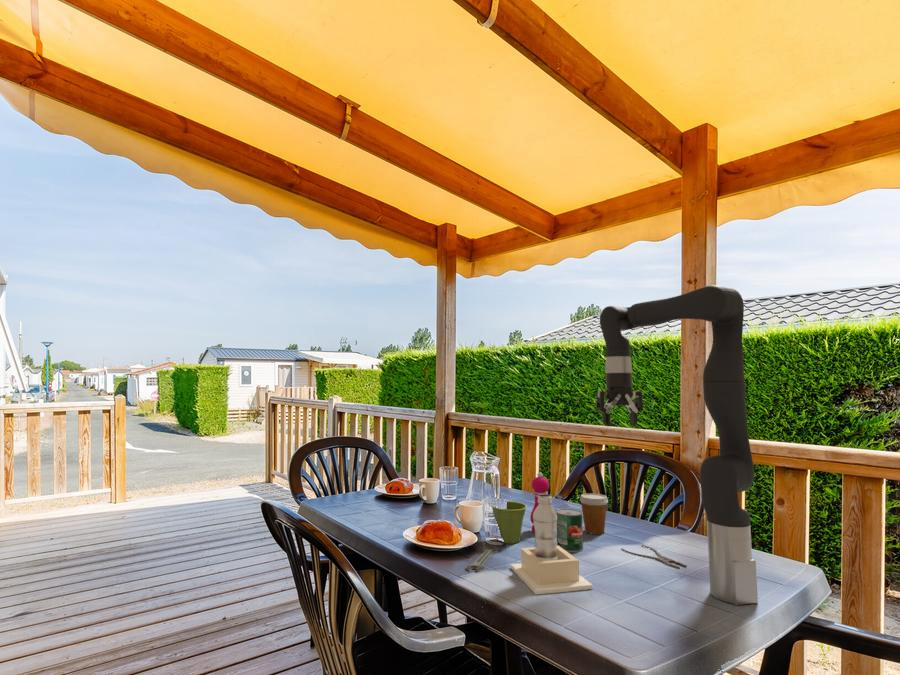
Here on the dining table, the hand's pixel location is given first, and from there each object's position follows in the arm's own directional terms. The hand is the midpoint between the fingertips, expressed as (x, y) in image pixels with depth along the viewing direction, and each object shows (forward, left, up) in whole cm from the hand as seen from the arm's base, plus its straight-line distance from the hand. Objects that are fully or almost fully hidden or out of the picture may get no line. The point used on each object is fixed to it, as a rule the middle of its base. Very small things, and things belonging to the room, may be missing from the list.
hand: (620, 425), depth 149 cm
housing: (-10, +28, -38) cm, 48 cm away
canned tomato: (+11, +12, -38) cm, 42 cm away
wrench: (+7, +41, -39) cm, 57 cm away
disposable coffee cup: (+25, -4, -38) cm, 46 cm away
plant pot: (+22, +28, -38) cm, 52 cm away
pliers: (-1, -10, -39) cm, 40 cm away
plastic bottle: (-10, +29, -37) cm, 48 cm away
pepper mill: (+29, +14, -38) cm, 50 cm away
